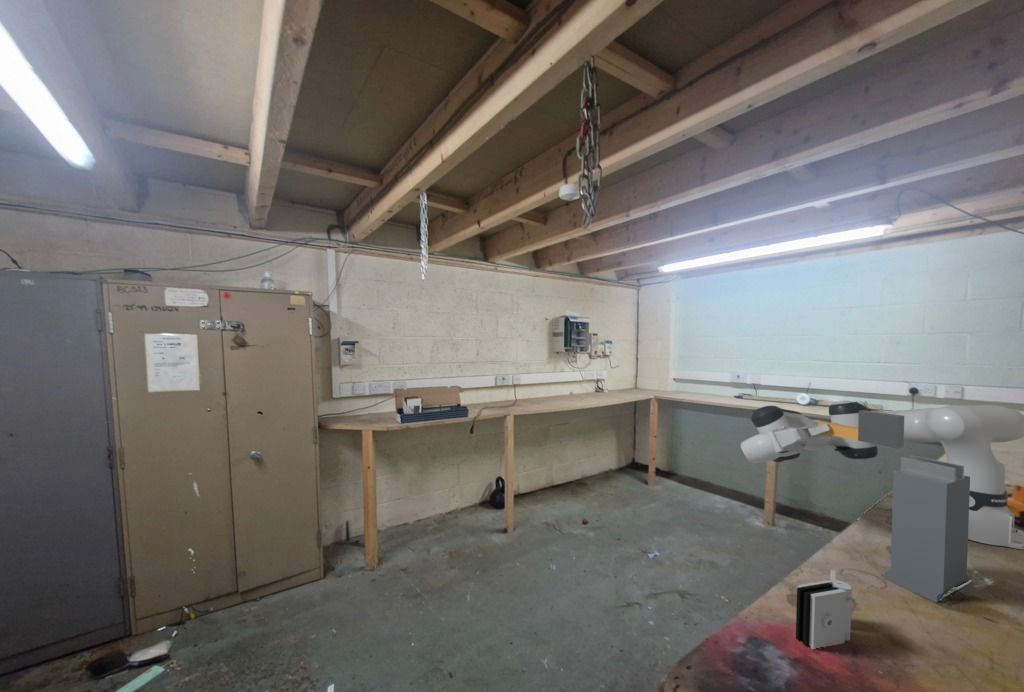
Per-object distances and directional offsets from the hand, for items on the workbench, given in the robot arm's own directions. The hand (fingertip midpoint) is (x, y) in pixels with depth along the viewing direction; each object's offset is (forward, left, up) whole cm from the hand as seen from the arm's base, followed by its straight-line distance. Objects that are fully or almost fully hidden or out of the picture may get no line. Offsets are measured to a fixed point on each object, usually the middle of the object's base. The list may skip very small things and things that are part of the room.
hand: (834, 426), depth 108 cm
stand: (-1, +20, -33) cm, 39 cm away
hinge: (+42, +19, -34) cm, 57 cm away
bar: (0, +5, -2) cm, 6 cm away
